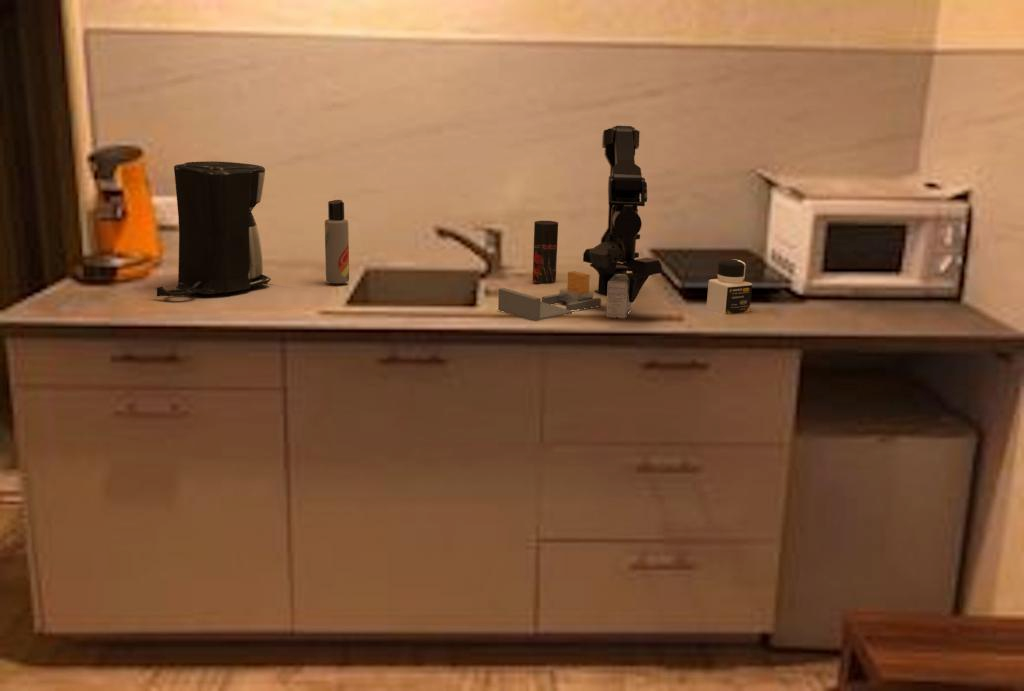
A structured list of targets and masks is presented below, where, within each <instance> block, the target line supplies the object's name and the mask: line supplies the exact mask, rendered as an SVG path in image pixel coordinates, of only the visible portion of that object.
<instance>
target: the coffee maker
mask: <svg viewBox="0 0 1024 691" xmlns="http://www.w3.org/2000/svg"><path fill="white" fill-rule="evenodd" d="M173 170H174V172H173V173H174V182H175V183H174V184H175V192H176V194H175V195H176V205H177V215H178V216H177V217H178V272H177V273H178V279H177V280H178V281H177V286H176V289H169V290H167V289H165V288H164V286H158V287H154V289H156V297H181V296H187V295H192V294H193V295H194V294H199V295H215V294H222V293H223V294H225V293H233V292H238V291H243V290H250V289H251V288H253V287H256V286H260V285H263V284H264V285H266V284H268V283H269V282H270V281H272V279H271V277H269V276H267V275H265V274H263V255H262V253H263V252H262V246H261V241H260V240H261V239H260V233H259V228H258V225H257V223H256V220H255V217H254V215H253V213H252V211H253V209H254V208H256V206H257V205H258V204H259V203H261V200H262V196H263V190H264V182H265V178H266V177H265V175H266V168H265V167H264V166H261V165H257V164H252V163H242V162H232V161H218V160H217V161H213V160H212V161H209V160H208V161H189V162H184V163H181V164H175V165H174V166H173Z"/></svg>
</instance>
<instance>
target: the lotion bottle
mask: <svg viewBox="0 0 1024 691" xmlns="http://www.w3.org/2000/svg"><path fill="white" fill-rule="evenodd" d="M327 204H328V206H327V208H328V212H327V214H328V219H325V220H324V246H325V247H324V248H325V249H324V250H325V251H324V252H325V253H324V254H325V280H326V281H325V282H326V283H330V284H344V283H348V282H349V281H350V246H349V240H350V239H349V238H350V237H349V221H348V219H345V202H343V200H342V199H333V200H329V201H328V202H327Z"/></svg>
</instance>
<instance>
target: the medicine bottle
mask: <svg viewBox="0 0 1024 691" xmlns="http://www.w3.org/2000/svg"><path fill="white" fill-rule="evenodd" d="M717 264H718V265H717V266H718V267H717V274H716V275H717V278H712V279H708V285H707V286H708V287H707V296H706V297H707V298H706V309H708V310H710V311H713V312H717V313H720V314H723V315H733V314H734V315H735V314H744V313H749V312H750V310H751V301H752V290H753V289H752V288H753V283H751V282H748V281H745V275H746V266H747V265H746V263H745V262H744V261H742V260H740V259H734V258H725V259H722V260H719V262H718V263H717Z"/></svg>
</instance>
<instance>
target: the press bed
mask: <svg viewBox="0 0 1024 691" xmlns="http://www.w3.org/2000/svg"><path fill="white" fill-rule="evenodd" d="M497 299H498V304H497V310H500V311H499V312H501V311H504V312H507V313H506V314H508V313H510V314H509V315H511V314H513V316H516V317H519V318H523V319H526V320H530V321H534V322H536V321H542V320H546V319H551V318H552V319H553V318H558V317H563V316H565V315H564V314H569V313H572V312H574V313H575V311H571V310H577V309H584V308H591V307H596V306H601V307H602V298H600V297H593V299H589V300H583V301H578V302H573V303H569V302H566V301H562V300H559V293H556V294H549V295H546V296H541V298H540V297H537V296H533V295H530V294H527V293H524V292H523V293H522V292H520V291H515V290H513V289H509V288H506V287H501V288H498V298H497ZM562 302H565V303H566V304H565V307H560V306H557V305H556V304H555V303H560V304H563V303H562ZM551 304H554V305H551ZM596 308H597V307H596ZM591 309H592V308H591ZM504 312H503V313H504ZM562 315H563V316H562ZM569 315H570V314H569Z"/></svg>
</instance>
